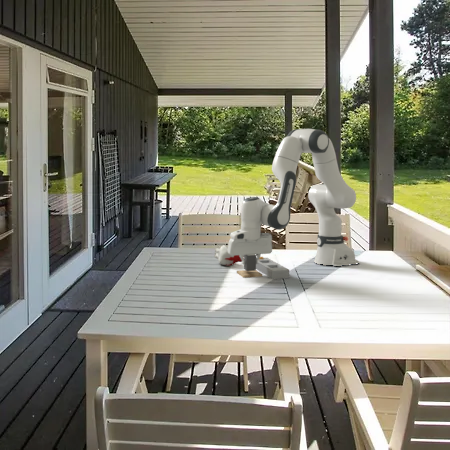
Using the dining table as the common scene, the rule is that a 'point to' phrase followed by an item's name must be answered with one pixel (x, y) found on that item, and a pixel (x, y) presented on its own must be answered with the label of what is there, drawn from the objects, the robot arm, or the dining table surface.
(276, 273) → the power strip
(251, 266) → the block
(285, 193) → the robot arm
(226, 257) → the white red lumpy piece
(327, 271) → the dining table surface
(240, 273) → the cork coaster
